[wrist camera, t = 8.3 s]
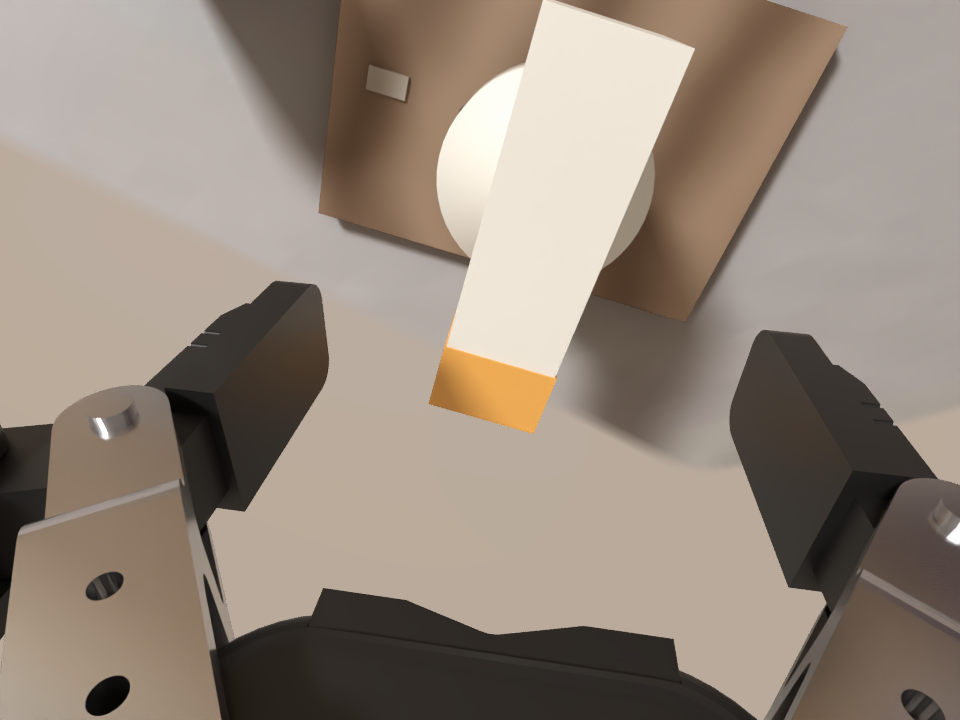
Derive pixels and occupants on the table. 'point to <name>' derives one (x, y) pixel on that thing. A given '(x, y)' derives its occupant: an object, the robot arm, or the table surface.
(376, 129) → the lock base
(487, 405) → the twist knob
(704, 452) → the table surface
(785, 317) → the table surface
